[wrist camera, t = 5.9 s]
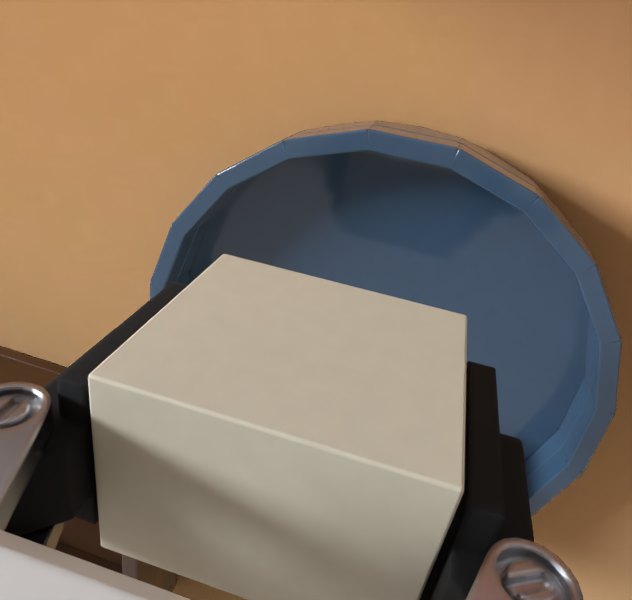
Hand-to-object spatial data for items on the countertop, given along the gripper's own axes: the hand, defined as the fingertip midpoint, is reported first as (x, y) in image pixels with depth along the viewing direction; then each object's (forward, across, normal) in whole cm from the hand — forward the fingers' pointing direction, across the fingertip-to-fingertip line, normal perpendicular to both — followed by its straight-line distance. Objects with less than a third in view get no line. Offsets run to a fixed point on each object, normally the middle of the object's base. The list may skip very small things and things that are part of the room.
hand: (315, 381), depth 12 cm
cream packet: (+1, 0, 0) cm, 1 cm away
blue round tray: (+8, -1, +4) cm, 9 cm away
